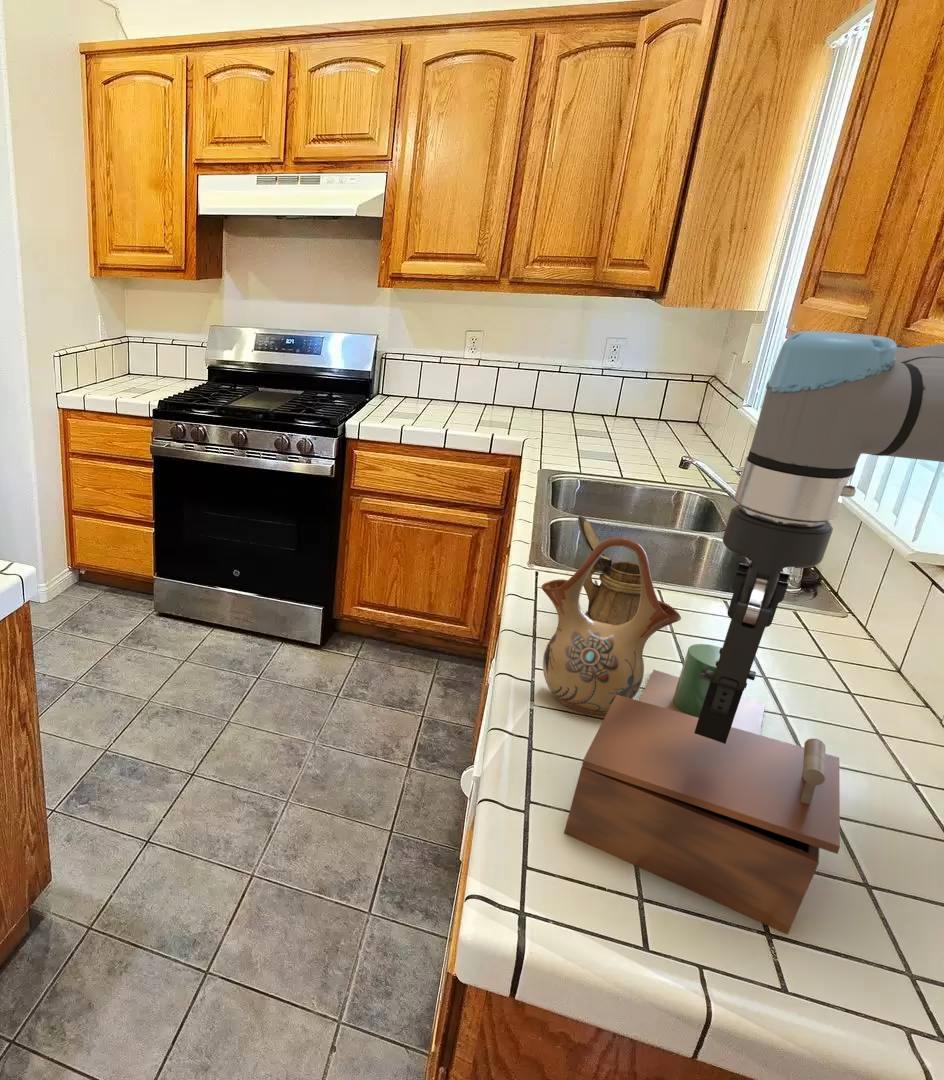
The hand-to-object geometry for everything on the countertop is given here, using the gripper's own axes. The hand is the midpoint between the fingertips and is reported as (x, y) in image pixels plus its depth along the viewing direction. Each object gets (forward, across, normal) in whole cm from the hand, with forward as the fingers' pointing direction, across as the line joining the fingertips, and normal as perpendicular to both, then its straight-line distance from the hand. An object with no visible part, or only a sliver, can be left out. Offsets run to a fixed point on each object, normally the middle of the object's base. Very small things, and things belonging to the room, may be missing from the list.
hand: (710, 734), depth 75 cm
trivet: (+14, +30, +1) cm, 33 cm away
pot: (+13, +30, +1) cm, 33 cm away
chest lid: (+3, 0, -1) cm, 3 cm away
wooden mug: (+14, +48, +18) cm, 53 cm away
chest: (+13, 0, 0) cm, 13 cm away
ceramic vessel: (+14, +20, +14) cm, 28 cm away
